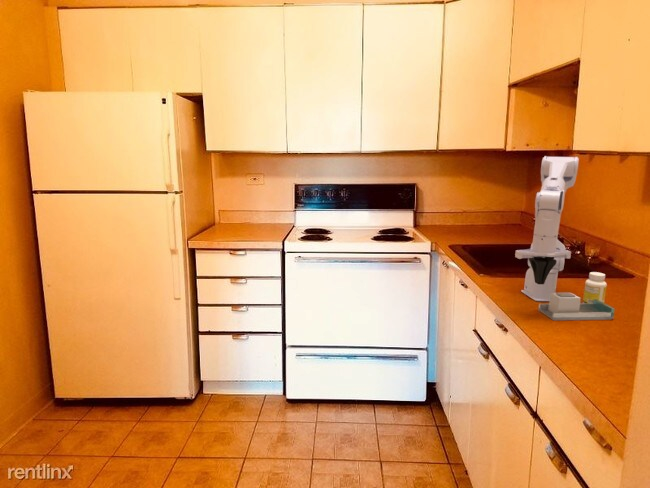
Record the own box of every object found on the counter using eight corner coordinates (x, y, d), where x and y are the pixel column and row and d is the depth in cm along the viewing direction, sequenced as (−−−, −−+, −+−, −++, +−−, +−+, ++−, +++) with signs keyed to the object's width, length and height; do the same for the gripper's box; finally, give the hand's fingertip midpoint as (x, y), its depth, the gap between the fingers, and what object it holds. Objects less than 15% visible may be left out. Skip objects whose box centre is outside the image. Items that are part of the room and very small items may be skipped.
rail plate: (553, 320, 118) (554, 309, 117) (538, 310, 125) (539, 299, 124) (612, 319, 119) (614, 308, 118) (594, 309, 126) (596, 299, 125)
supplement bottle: (595, 301, 133) (600, 271, 130) (607, 308, 127) (612, 276, 125) (578, 301, 132) (583, 271, 130) (589, 308, 127) (594, 276, 125)
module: (548, 309, 124) (550, 291, 122) (568, 309, 124) (570, 291, 123) (557, 315, 119) (559, 297, 118) (578, 315, 120) (581, 297, 118)
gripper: (526, 238, 112) (521, 288, 115) (580, 238, 113) (573, 287, 116) (513, 232, 119) (508, 280, 122) (564, 232, 120) (558, 279, 123)
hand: (539, 283), depth 119 cm, fingers closed
